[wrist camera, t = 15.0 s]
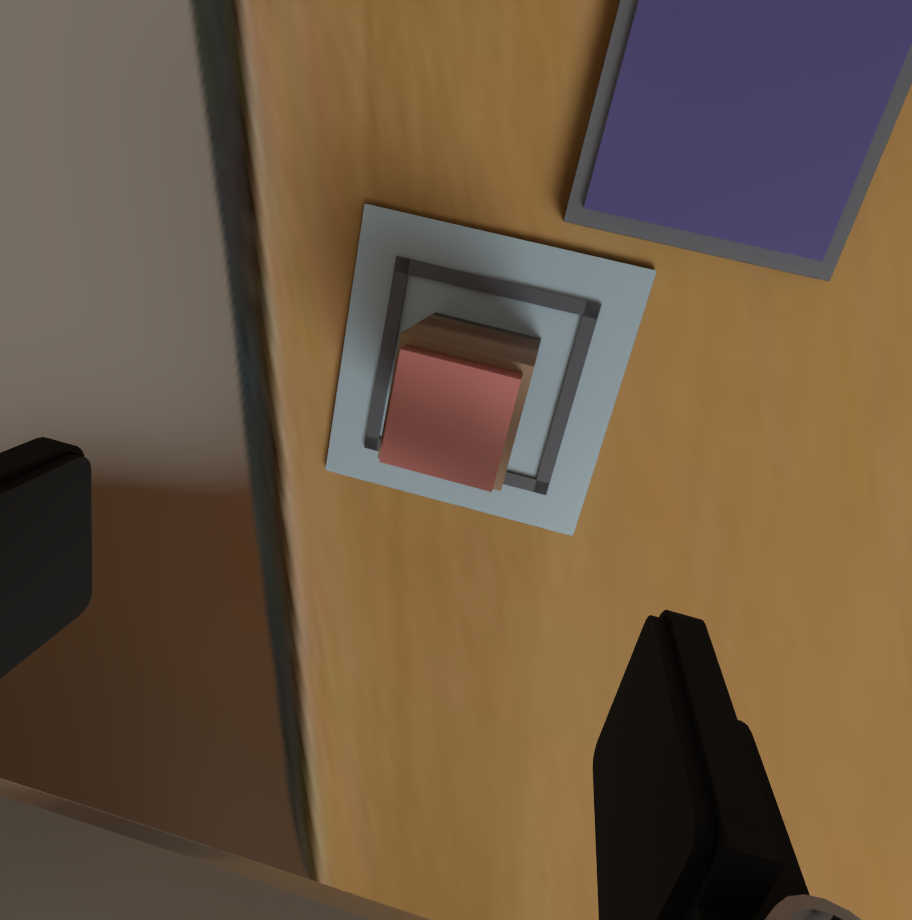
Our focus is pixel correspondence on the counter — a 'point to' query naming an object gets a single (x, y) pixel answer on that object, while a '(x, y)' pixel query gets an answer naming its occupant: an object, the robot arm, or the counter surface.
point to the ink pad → (743, 125)
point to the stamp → (457, 400)
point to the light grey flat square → (503, 306)
